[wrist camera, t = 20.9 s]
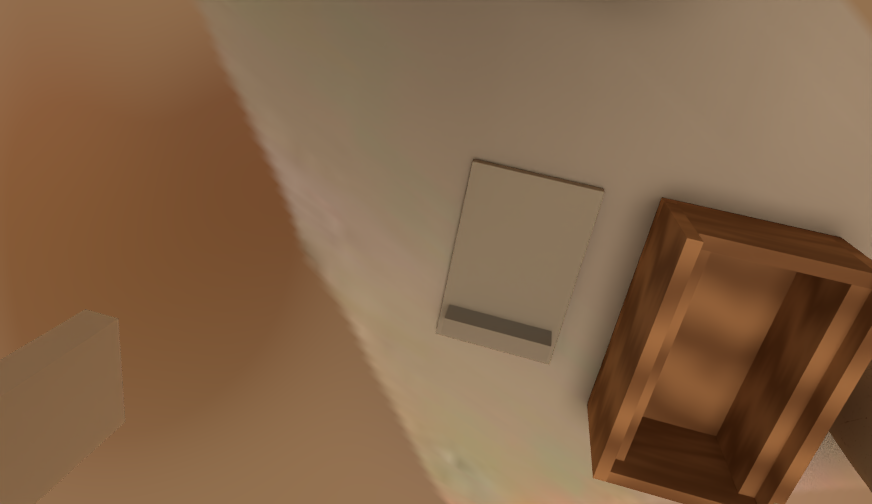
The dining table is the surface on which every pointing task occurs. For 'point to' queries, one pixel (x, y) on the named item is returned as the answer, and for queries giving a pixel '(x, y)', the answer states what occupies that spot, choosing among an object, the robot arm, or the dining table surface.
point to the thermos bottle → (857, 427)
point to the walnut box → (729, 357)
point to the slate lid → (516, 259)
